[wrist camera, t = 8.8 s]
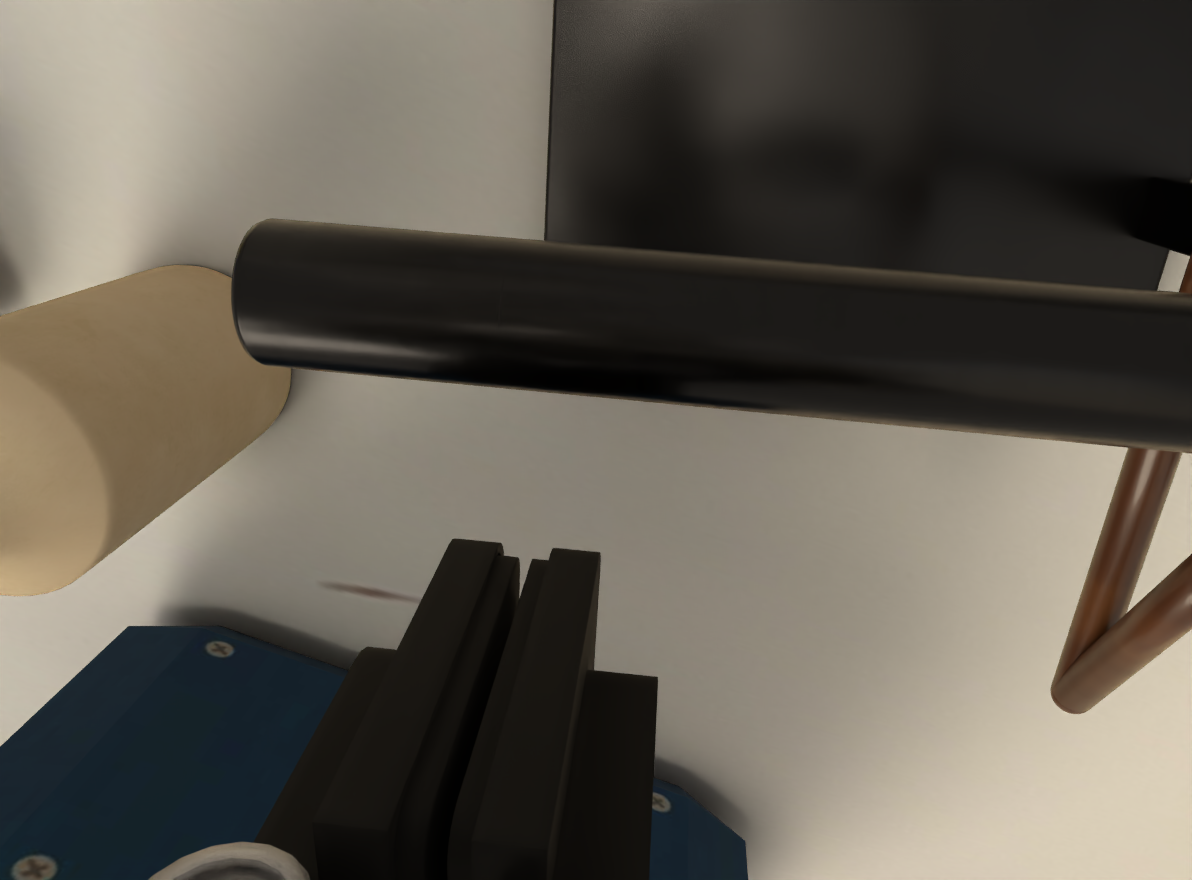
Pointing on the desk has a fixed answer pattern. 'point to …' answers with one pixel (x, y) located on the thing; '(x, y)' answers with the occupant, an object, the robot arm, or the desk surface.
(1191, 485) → the desk surface
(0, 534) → the candle
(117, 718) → the radio
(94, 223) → the desk surface
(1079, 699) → the hanger
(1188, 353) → the rail stand
